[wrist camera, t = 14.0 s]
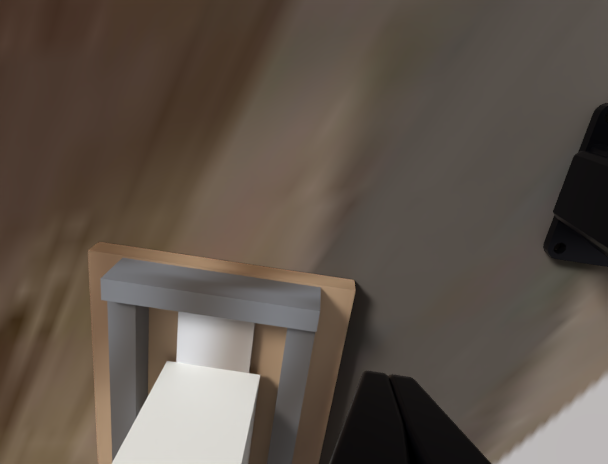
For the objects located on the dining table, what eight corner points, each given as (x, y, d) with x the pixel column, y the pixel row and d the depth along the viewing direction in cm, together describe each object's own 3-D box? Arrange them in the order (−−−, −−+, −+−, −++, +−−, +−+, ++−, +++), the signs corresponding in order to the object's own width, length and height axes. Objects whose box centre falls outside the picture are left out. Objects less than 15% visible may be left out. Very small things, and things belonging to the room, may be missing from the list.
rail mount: (354, 280, 20) (358, 315, 17) (300, 535, 27) (297, 590, 24) (99, 241, 20) (61, 270, 17) (108, 507, 26) (83, 559, 24)
